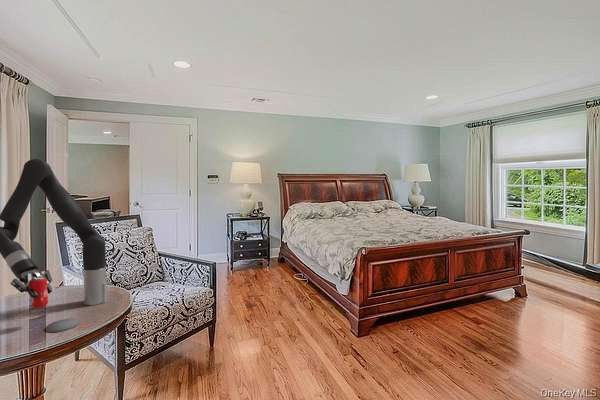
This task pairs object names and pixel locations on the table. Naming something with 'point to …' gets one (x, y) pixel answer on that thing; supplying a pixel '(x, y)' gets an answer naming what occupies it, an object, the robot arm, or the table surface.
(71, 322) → the rubber mat
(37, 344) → the table surface
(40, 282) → the beverage can
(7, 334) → the table surface
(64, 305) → the table surface
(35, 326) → the table surface
